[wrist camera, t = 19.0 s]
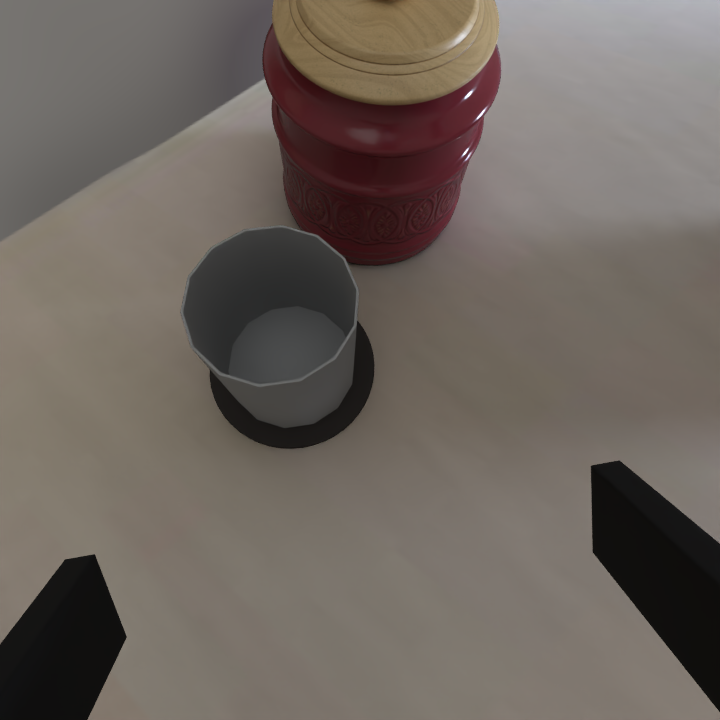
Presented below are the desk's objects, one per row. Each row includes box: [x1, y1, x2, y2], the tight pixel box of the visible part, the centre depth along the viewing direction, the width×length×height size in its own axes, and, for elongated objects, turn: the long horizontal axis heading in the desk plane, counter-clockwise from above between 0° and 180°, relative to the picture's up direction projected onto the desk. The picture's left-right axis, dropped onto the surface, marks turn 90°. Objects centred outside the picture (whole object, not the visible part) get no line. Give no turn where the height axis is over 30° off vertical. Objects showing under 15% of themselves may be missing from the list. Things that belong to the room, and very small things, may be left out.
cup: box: [180, 225, 359, 428], centre depth 27 cm, size 8×8×10 cm
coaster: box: [210, 321, 374, 448], centre depth 32 cm, size 11×11×1 cm
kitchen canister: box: [263, 0, 501, 265], centre depth 29 cm, size 13×13×18 cm
